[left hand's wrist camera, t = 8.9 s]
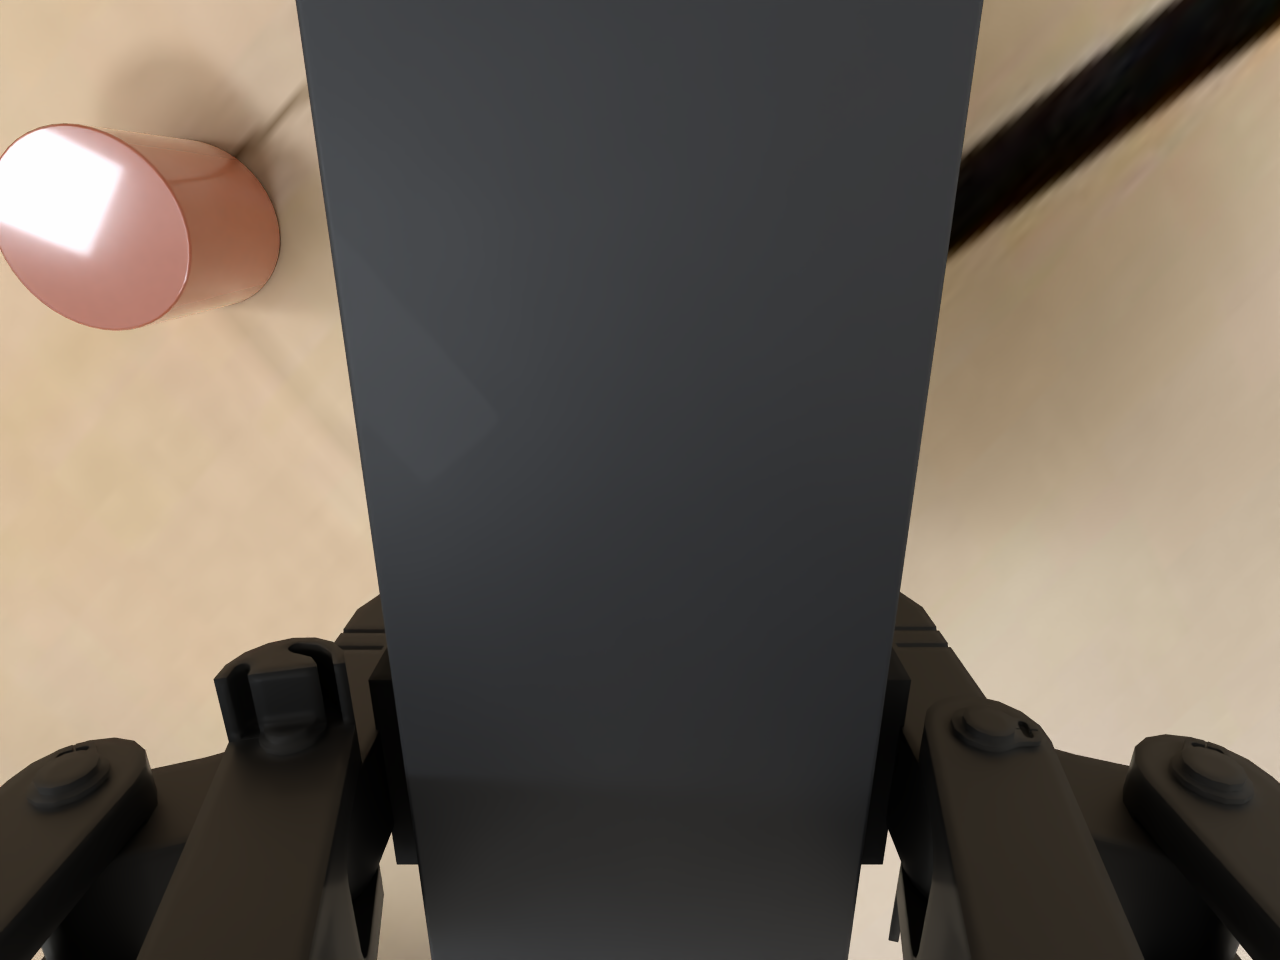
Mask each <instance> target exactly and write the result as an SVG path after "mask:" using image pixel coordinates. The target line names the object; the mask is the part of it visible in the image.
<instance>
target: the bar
mask: <svg viewBox="0 0 1280 960" xmlns="http://www.w3.org/2000/svg"><path fill="white" fill-rule="evenodd" d="M296 6H297V13H298V20H299V27H300V34H301V41H302V48H303V55H304V62H305V69H306V76H307V83H308V90H309V97H310V105H311V112H312V119H313V126H314V133H315V140H316V147H317V154H318V161H319V168H320V175H321V182H322V189H323V196H324V203H325V210H326V217H327V225H328V232H329V239H330V246H331V253H332V260H333V267H334V274H335V281H336V288H337V295H338V302H339V309H340V316H341V323H342V330H343V337H344V344H345V352H346V359H347V366H348V373H349V380H350V387H351V394H352V401H353V408H354V415H355V422H356V429H357V436H358V443H359V450H360V457H361V464H362V471H363V479H364V486H365V493H366V500H367V507H368V514H369V521H370V528H371V535H372V542H373V549H374V556H375V563H376V570H377V577H378V584H379V591H380V599H381V606H382V613H383V620H384V627H385V634H386V641H387V648H388V655H389V662H390V669H391V676H392V683H393V690H394V697H395V704H396V711H397V718H398V726H399V733H400V740H401V747H402V754H403V761H404V768H405V775H406V782H407V789H408V796H409V803H410V810H411V817H412V824H413V831H414V838H415V845H416V853H417V860H418V867H419V874H420V881H421V888H422V895H423V902H424V909H425V916H426V923H427V930H428V937H429V944H430V951H431V958H432V960H848V954H849V947H850V940H851V933H852V926H853V919H854V911H855V904H856V897H857V890H858V883H859V876H860V869H861V862H862V855H863V848H864V841H865V834H866V827H867V820H868V813H869V805H870V798H871V791H872V784H873V777H874V770H875V763H876V756H877V749H878V742H879V735H880V728H881V721H882V714H883V706H884V699H885V692H886V685H887V678H888V671H889V664H890V657H891V650H892V643H893V636H894V629H895V622H896V615H897V607H898V600H899V593H900V586H901V579H902V572H903V565H904V558H905V551H906V544H907V537H908V530H909V523H910V516H911V508H912V501H913V494H914V487H915V480H916V473H917V466H918V459H919V452H920V445H921V438H922V431H923V424H924V417H925V410H926V402H927V395H928V388H929V381H930V374H931V367H932V360H933V353H934V346H935V339H936V332H937V325H938V318H939V311H940V303H941V296H942V289H943V282H944V275H945V268H946V261H947V254H948V247H949V240H950V233H951V226H952V219H953V212H954V204H955V197H956V190H957V183H958V176H959V169H960V162H961V155H962V148H963V141H964V134H965V127H966V120H967V113H968V105H969V98H970V91H971V84H972V77H973V70H974V63H975V56H976V49H977V42H978V35H979V28H980V21H981V14H982V7H983V0H296Z"/></svg>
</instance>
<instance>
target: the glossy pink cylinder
mask: <svg viewBox="0 0 1280 960" xmlns="http://www.w3.org/2000/svg"><path fill="white" fill-rule="evenodd" d="M279 247H280V235H279V226H278V221H277V217H276V213H275V211H274V208H273V205H272V203H271V201H270V199H269V197H268V194H267V193H266V191H265V190H264V188H263V186H262V185H261V183H260V182H259V181H258V180H257V178H256V177H255V176H254V174H253V173H252V172H251V171H250V170H249V169H248V168H247V167H246V166H245V165H243V164H242V163H241V162H240V161H239V160H237V159H236V158H235V157H233V156H232V155H230V154H229V153H227V152H225V151H223V150H221V149H219V148H217V147H215V146H213V145H210V144H207V143H204V142H199V141H194V140H188V139H181V138H173V137H166V136H159V135H152V134H145V133H138V132H130V131H123V130H116V129H109V128H102V127H95V126H87V125H80V124H68V123H63V124H51V125H47V126H42V127H39V128H36V129H34V130H32V131H29V132H27V133H26V134H24V135H22V136H21V137H19V138H18V139H16V140H15V141H14V142H13V143H12V144H11V145H10V146H9V147H8V148H7V149H6V151H5V152H4V153H3V155H2V156H1V157H0V250H1V252H2V254H3V256H4V258H5V260H6V261H7V263H8V264H9V266H10V268H11V269H12V271H13V272H14V273H15V275H16V276H17V277H18V279H19V280H20V281H21V282H22V284H23V285H24V286H25V287H26V288H27V289H28V290H29V291H30V292H31V293H32V294H33V295H34V296H35V297H37V298H38V299H39V300H40V301H41V302H42V303H44V304H45V305H47V306H48V307H49V308H51V309H52V310H54V311H55V312H57V313H59V314H60V315H62V316H64V317H66V318H68V319H70V320H73V321H75V322H77V323H80V324H83V325H86V326H89V327H93V328H98V329H103V330H115V331H119V330H131V329H136V328H140V327H144V326H148V325H152V324H156V323H160V322H164V321H168V320H172V319H176V318H180V317H184V316H188V315H192V314H196V313H200V312H204V311H208V310H212V309H216V308H220V307H225V306H229V305H233V304H236V303H239V302H241V301H244V300H246V299H248V298H249V297H251V296H253V295H254V294H255V293H257V292H258V291H259V290H260V289H261V288H262V287H263V286H264V285H265V284H266V282H267V281H268V279H269V278H270V276H271V274H272V272H273V270H274V268H275V265H276V262H277V259H278V254H279Z"/></svg>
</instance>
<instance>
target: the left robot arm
mask: <svg viewBox="0 0 1280 960" xmlns="http://www.w3.org/2000/svg"><path fill="white" fill-rule="evenodd" d="M214 683H215V687H216V691H217V695H218V699H219V703H220V707H221V712H222V716H223V720H224V724H225V728H226V732H227V736H228V740H229V743H228V745H227V748H226V750H225V752H223V753H220V754H216V755H213V756H209V757H206V758H201V759H196V760H192V761H187V762H182V763H178V764H173V765H168V766H164V767H159V768H154V769H151V768H150V765H149V761H148V758H147V754H146V751H145V749H143V748H142V747H141V746H140V745H139V744H137V743H136V742H135V741H132V740H126V739H120V738H107V739H98V740H90V741H86V742H82V743H78V744H76V745H71V746H68V747H65V748H62V749H59V750H57V751H56V752H54V753H52V754H50V755H48V756H46V757H44V758H42V759H40V760H38V761H35V762H33V763H32V764H30V765H29V766H27V767H26V768H25V769H23V770H22V771H20V772H19V773H18V774H16V775H15V776H14V777H12V778H11V779H9V780H8V781H7V782H6V783H5V784H4V785H2V786H1V787H0V960H31V959H32V958H33V957H34V955H35V954H36V953H37V952H38V950H39V949H40V948H42V951H43V953H44V957H43V958H42V960H377V953H378V944H379V935H380V925H381V916H382V907H383V897H384V892H383V885H382V878H381V872H380V866H379V862H380V860H381V857H382V855H383V852H384V850H385V847H386V845H387V842H388V840H389V837H390V835H391V832H392V836H393V843H394V849H395V856H396V862H397V864H418V860H417V853H416V845H415V838H414V831H413V824H412V817H411V810H410V803H409V796H408V789H407V782H406V775H405V768H404V761H403V754H402V747H401V740H400V733H399V726H398V718H397V711H396V704H395V697H394V690H393V683H392V676H391V669H390V662H389V655H388V648H387V641H386V634H385V627H384V620H383V613H382V606H381V599H380V594H379V595H378V596H377V597H375V598H374V599H372V600H371V601H369V602H368V603H366V604H365V605H363V606H362V607H360V608H359V609H357V611H356V612H355V614H354V615H353V617H352V618H351V619H350V621H349V622H348V624H347V625H346V627H345V628H344V632H343V633H341V634H340V635H339V637H338V638H337V639H336V641H335V642H331V641H327V640H323V639H319V638H291V639H286V640H281V641H276V642H271V643H268V644H265V645H262V646H260V647H257V648H255V649H252V650H250V651H247V652H245V653H243V654H242V655H240V656H239V657H237V658H236V659H234V660H233V661H231V662H230V663H228V664H226V665H225V666H224V668H223V669H222V670H221V671H220V672H219V673H218V675H217V676H216V677H215V678H214ZM888 830H889V832H890V835H891V837H892V840H893V842H894V845H895V847H896V850H897V852H898V855H899V857H900V860H901V866H900V872H899V878H898V884H897V890H896V896H895V902H894V908H893V914H892V920H891V926H890V933H889V940H890V941H895V942H898V941H899V935H900V933H901V942H902V952H903V960H1241V958H1240V957H1239V956H1238V955H1237V954H1236V951H1237V949H1238V946H1239V944H1240V945H1241V946H1242V947H1243V948H1244V949H1245V951H1246V952H1247V953H1248V954H1249V956H1250V957H1251V958H1252V959H1253V960H1280V783H1279V782H1278V781H1277V780H1275V779H1274V778H1273V777H1272V776H1270V775H1269V774H1268V773H1266V772H1265V771H1263V770H1262V769H1261V768H1259V767H1258V766H1257V765H1255V764H1254V763H1252V762H1251V761H1250V760H1248V759H1246V758H1244V757H1242V756H1240V755H1238V754H1236V753H1233V752H1231V751H1229V750H1227V749H1226V748H1224V747H1222V746H1219V745H1216V744H1214V743H1211V742H1205V741H1204V740H1200V739H1196V738H1192V737H1185V736H1176V735H1167V734H1165V735H1159V736H1152V737H1146V738H1145V739H1144V740H1143V741H1141V742H1140V743H1139V744H1138V745H1137V746H1135V749H1134V752H1133V756H1132V759H1131V762H1130V766H1126V765H1122V764H1117V763H1112V762H1108V761H1103V760H1098V759H1093V758H1089V757H1084V756H1079V755H1075V754H1071V753H1068V752H1064V751H1060V750H1057V749H1054V747H1053V744H1052V742H1051V740H1050V739H1049V737H1048V736H1047V735H1046V733H1045V732H1044V730H1043V729H1042V728H1041V726H1040V725H1038V724H1037V723H1036V722H1034V721H1033V720H1032V719H1030V718H1029V717H1028V716H1026V715H1025V714H1024V713H1022V712H1021V711H1019V710H1016V709H1014V708H1012V707H1010V706H1008V705H1005V704H1003V703H1001V702H998V701H994V700H990V699H987V698H986V697H985V696H984V694H983V693H982V691H981V690H980V688H979V687H978V686H977V684H976V683H975V681H974V680H973V678H972V677H971V676H970V674H969V673H968V671H967V670H966V668H965V667H964V666H963V664H962V663H961V661H960V660H959V658H958V657H957V656H956V654H955V653H954V651H953V650H952V649H951V647H948V643H947V641H946V640H945V639H944V637H943V636H942V634H941V633H940V631H937V630H936V626H935V624H934V623H933V621H932V620H931V619H930V617H929V616H928V614H927V613H926V611H925V610H924V609H923V607H922V606H920V605H919V604H917V603H916V602H914V601H913V600H911V599H910V598H908V597H907V596H905V595H904V594H902V593H901V592H900V593H899V600H898V607H897V615H896V622H895V629H894V636H893V643H892V650H891V657H890V664H889V671H888V678H887V685H886V692H885V699H884V706H883V714H882V721H881V728H880V735H879V742H878V749H877V756H876V763H875V770H874V777H873V784H872V791H871V798H870V805H869V813H868V820H867V827H866V834H865V841H864V848H863V855H862V862H861V864H883V859H884V852H885V846H886V839H887V833H888Z"/></svg>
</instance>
